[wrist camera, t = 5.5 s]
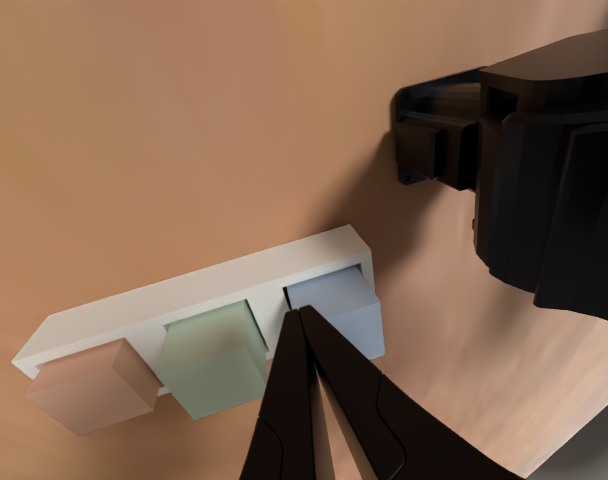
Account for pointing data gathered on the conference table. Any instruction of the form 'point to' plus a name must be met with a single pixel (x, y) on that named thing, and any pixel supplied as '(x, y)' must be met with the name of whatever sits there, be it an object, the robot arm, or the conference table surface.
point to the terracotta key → (95, 387)
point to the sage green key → (214, 360)
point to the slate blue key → (345, 307)
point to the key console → (197, 300)
